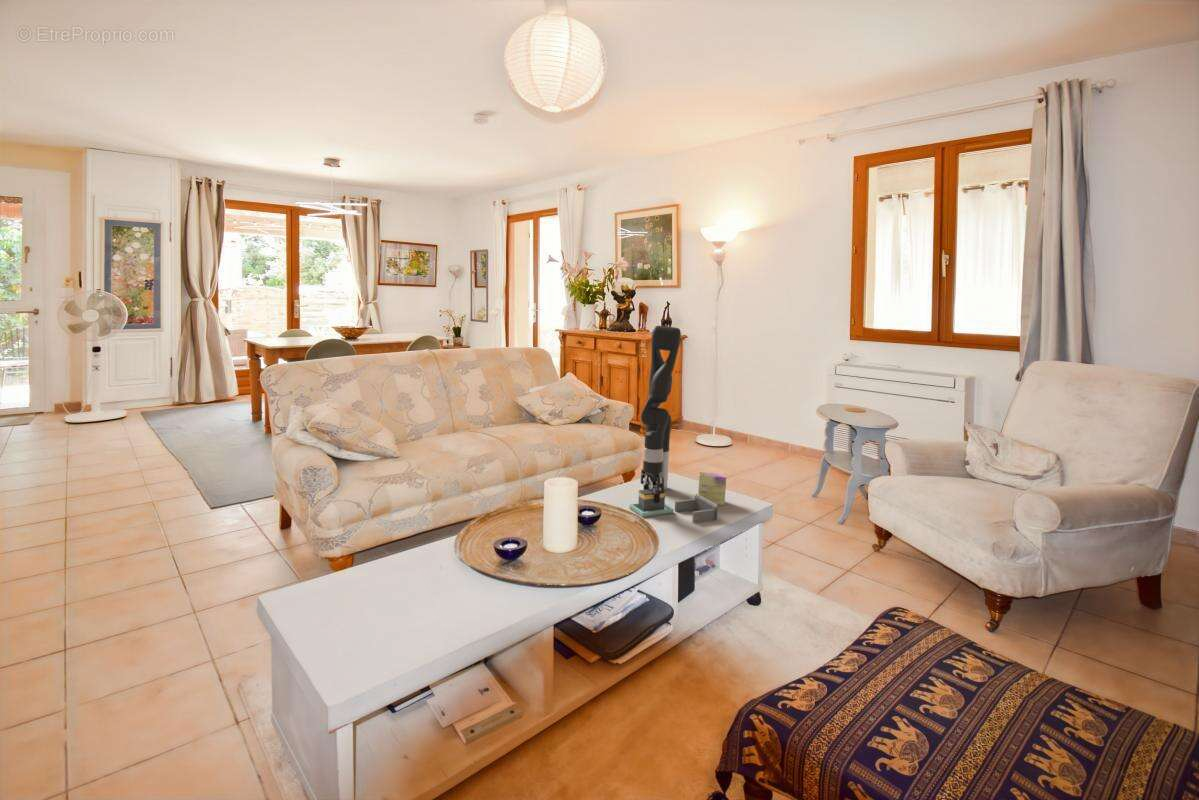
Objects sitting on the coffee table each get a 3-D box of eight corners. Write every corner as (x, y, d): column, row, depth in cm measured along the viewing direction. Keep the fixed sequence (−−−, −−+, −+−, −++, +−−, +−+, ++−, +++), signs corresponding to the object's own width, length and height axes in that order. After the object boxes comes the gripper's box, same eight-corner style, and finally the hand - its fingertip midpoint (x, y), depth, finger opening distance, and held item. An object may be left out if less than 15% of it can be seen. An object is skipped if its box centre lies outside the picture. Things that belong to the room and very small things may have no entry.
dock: (674, 510, 231) (675, 496, 230) (696, 508, 235) (697, 494, 234) (694, 523, 219) (694, 507, 218) (716, 519, 223) (717, 505, 222)
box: (723, 500, 245) (725, 473, 243) (724, 505, 239) (726, 477, 237) (697, 499, 246) (699, 471, 244) (698, 503, 240) (700, 475, 238)
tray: (629, 508, 232) (629, 504, 232) (659, 504, 238) (659, 500, 237) (642, 517, 223) (642, 512, 222) (673, 513, 228) (673, 508, 228)
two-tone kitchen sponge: (658, 506, 234) (659, 488, 233) (664, 510, 230) (665, 491, 229) (638, 508, 230) (638, 490, 229) (643, 512, 226) (644, 493, 225)
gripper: (671, 463, 222) (668, 504, 225) (652, 453, 235) (650, 492, 238) (653, 464, 219) (651, 506, 222) (635, 455, 232) (634, 494, 235)
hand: (651, 499), depth 230 cm, fingers open, 8 cm apart
